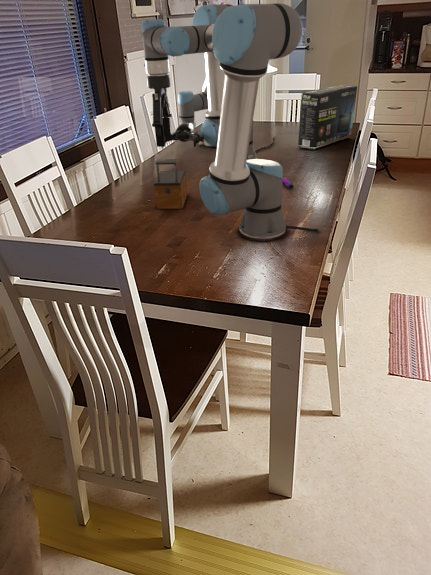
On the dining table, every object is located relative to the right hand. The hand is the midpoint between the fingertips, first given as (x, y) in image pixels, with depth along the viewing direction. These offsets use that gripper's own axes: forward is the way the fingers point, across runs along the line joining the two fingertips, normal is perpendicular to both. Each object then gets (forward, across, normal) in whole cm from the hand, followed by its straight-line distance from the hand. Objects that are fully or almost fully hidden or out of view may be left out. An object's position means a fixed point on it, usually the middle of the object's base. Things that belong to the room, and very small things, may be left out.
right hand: (164, 141), depth 159 cm
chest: (+24, -6, 0) cm, 25 cm away
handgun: (+24, -28, +41) cm, 56 cm away
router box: (+24, -91, +70) cm, 117 cm away
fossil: (+24, -93, +10) cm, 96 cm away
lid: (+15, -5, 0) cm, 16 cm away
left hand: (+9, -34, 0) cm, 35 cm away
